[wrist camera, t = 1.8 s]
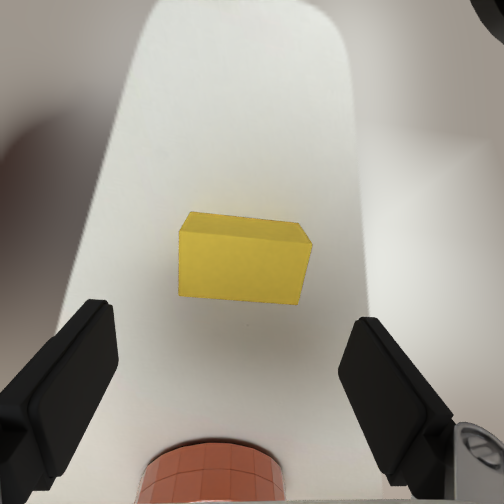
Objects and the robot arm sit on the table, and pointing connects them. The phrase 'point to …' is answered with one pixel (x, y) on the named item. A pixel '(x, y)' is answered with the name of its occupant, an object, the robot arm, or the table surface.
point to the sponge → (242, 259)
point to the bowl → (211, 476)
